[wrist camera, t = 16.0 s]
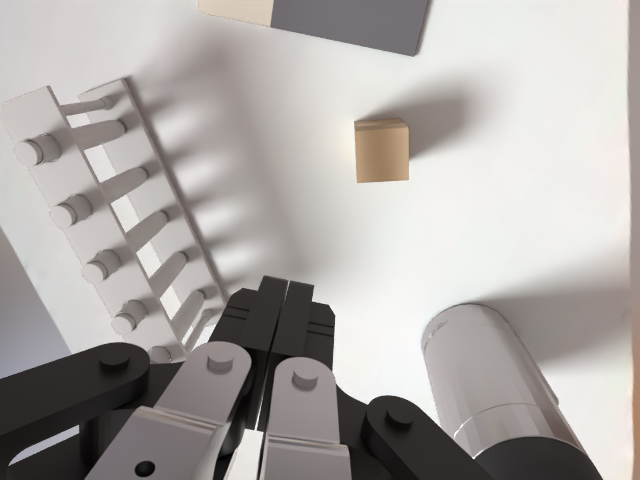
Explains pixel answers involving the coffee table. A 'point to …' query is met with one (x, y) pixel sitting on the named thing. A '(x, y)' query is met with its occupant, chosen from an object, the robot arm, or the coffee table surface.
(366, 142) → the oak block
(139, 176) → the test tube rack
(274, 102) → the coffee table surface
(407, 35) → the mat
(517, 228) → the coffee table surface
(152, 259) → the coffee table surface
